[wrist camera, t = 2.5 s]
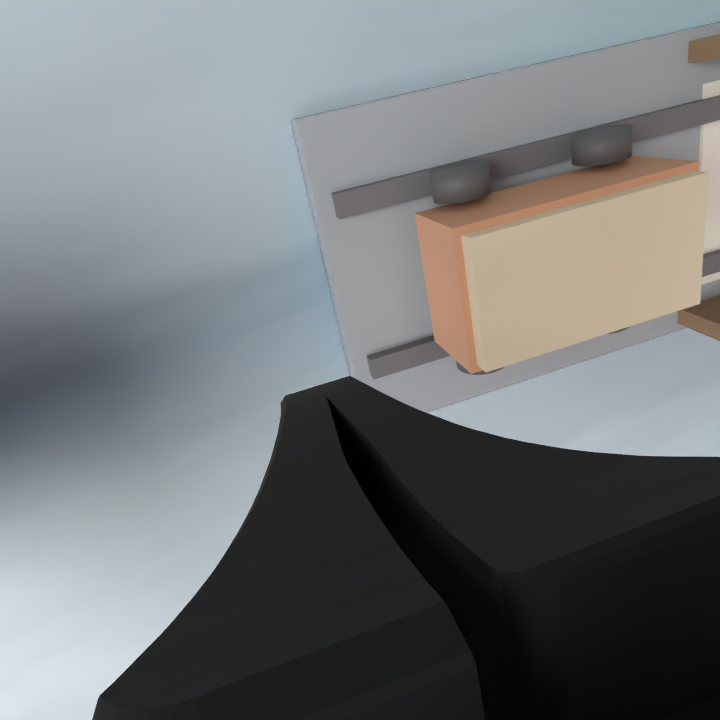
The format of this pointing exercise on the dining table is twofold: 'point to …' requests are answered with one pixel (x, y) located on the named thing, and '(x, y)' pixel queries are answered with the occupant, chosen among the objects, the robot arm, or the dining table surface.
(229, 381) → the dining table surface
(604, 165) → the cart
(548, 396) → the dining table surface
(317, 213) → the dock
